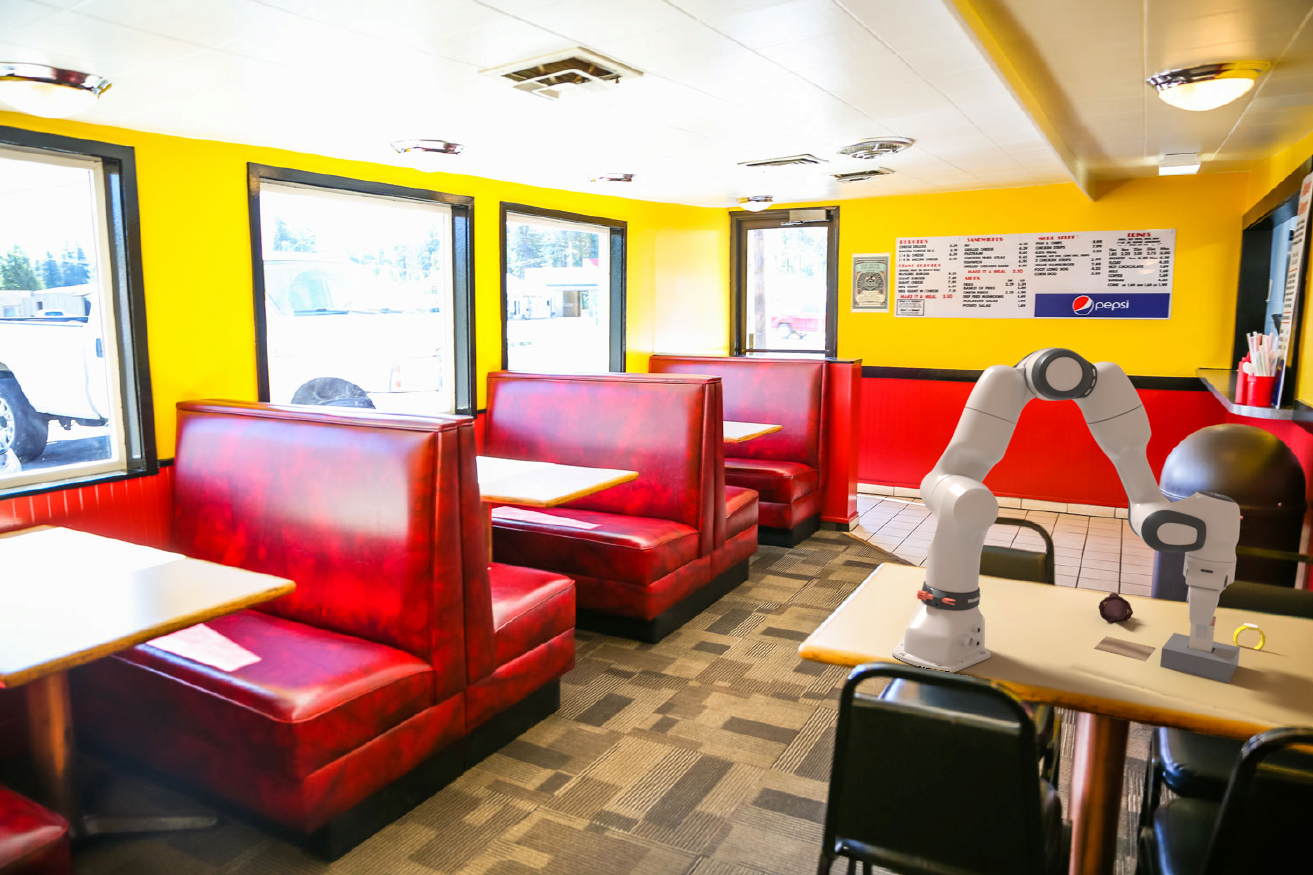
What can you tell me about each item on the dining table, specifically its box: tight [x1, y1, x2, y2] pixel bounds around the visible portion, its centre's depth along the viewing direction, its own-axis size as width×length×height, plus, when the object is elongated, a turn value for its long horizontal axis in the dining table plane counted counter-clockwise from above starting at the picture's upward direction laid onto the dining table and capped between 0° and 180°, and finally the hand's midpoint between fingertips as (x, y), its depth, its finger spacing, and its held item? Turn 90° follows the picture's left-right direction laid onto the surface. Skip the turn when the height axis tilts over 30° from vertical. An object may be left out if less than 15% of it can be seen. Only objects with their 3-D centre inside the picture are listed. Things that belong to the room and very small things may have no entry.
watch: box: [1232, 622, 1266, 650], centre depth 187 cm, size 6×3×6 cm, turn 79°
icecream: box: [1098, 592, 1134, 624], centre depth 204 cm, size 7×7×15 cm
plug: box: [1188, 616, 1217, 653], centre depth 175 cm, size 3×4×10 cm
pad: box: [1093, 635, 1156, 662], centre depth 185 cm, size 10×10×1 cm
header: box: [1160, 632, 1241, 684], centre depth 176 cm, size 12×12×5 cm
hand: (1201, 634), depth 175 cm, fingers closed on plug, 3 cm apart
